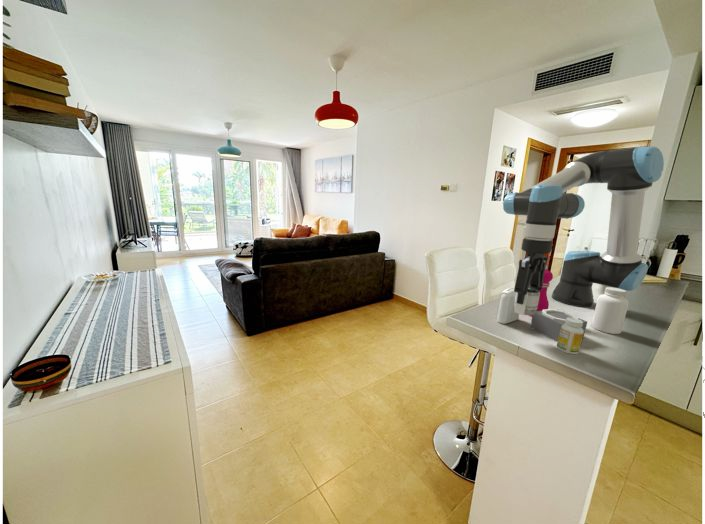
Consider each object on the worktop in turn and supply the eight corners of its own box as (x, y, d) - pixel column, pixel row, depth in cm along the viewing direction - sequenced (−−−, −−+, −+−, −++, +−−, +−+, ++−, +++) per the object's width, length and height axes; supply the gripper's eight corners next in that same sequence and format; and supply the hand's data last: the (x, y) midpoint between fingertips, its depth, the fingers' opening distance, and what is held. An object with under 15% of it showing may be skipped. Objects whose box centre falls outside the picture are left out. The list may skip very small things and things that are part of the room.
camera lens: (531, 308, 92) (535, 285, 90) (539, 316, 86) (544, 292, 84) (510, 306, 93) (514, 284, 91) (517, 314, 87) (521, 290, 85)
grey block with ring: (554, 325, 101) (558, 308, 100) (583, 338, 92) (587, 319, 90) (530, 327, 98) (533, 309, 97) (557, 341, 89) (561, 322, 88)
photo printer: (508, 315, 108) (513, 284, 106) (519, 319, 105) (526, 288, 102) (493, 320, 103) (498, 288, 100) (505, 325, 99) (511, 292, 97)
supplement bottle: (555, 350, 84) (562, 320, 82) (556, 343, 88) (563, 314, 86) (578, 356, 81) (586, 325, 79) (578, 349, 85) (585, 319, 83)
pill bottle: (602, 324, 105) (612, 285, 101) (626, 334, 97) (638, 292, 94) (585, 325, 103) (595, 285, 100) (608, 335, 95) (620, 293, 92)
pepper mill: (520, 312, 112) (529, 263, 108) (533, 310, 114) (543, 262, 110) (536, 319, 106) (547, 268, 101) (550, 318, 108) (561, 267, 103)
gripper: (538, 235, 92) (526, 301, 98) (508, 238, 81) (496, 313, 87) (565, 238, 86) (550, 308, 92) (537, 242, 76) (522, 322, 81)
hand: (524, 310), depth 89 cm, fingers closed on camera lens, 6 cm apart
